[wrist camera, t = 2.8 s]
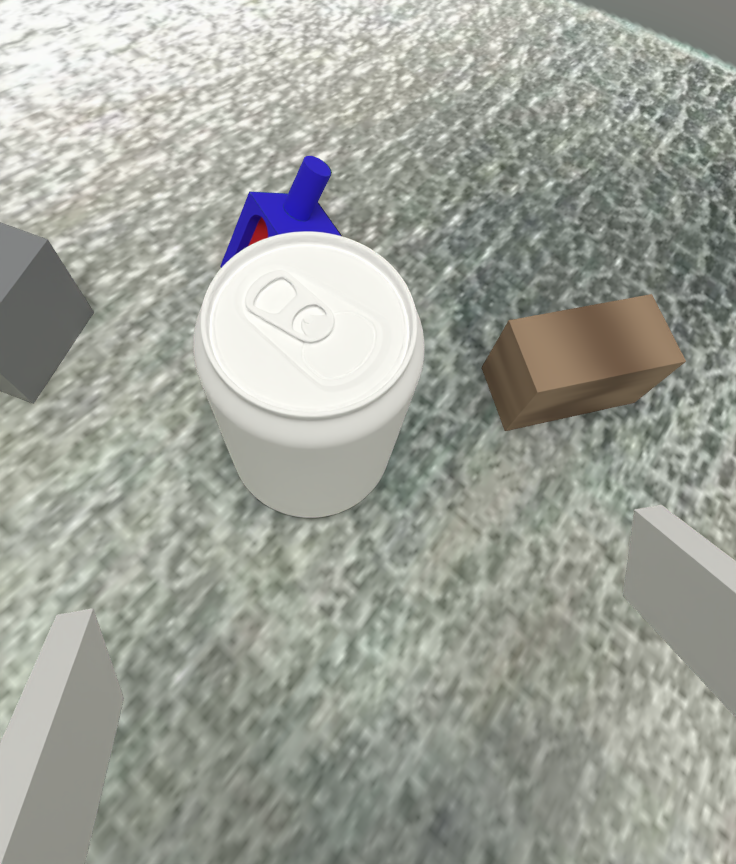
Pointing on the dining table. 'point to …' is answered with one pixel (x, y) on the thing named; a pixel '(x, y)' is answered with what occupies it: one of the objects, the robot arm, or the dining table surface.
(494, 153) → the dining table surface
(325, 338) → the beverage can
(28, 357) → the grey cube
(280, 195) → the toy building block
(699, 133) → the dining table surface
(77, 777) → the robot arm
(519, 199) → the dining table surface
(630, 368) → the walnut brick
